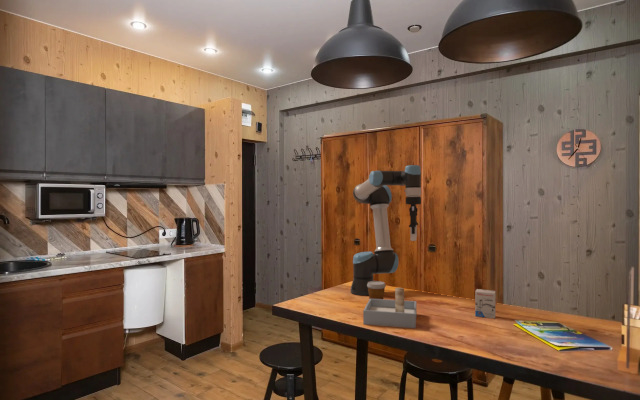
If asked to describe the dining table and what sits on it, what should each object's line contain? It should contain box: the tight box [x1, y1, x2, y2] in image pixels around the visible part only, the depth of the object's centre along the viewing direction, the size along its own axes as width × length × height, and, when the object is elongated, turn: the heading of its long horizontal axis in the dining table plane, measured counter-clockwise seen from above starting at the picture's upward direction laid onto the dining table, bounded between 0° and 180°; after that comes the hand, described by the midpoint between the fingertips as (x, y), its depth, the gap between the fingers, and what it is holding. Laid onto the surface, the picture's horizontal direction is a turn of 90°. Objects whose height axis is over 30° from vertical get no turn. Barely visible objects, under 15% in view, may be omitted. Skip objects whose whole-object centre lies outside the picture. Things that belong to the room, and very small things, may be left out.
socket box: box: [362, 298, 418, 329], centre depth 174 cm, size 21×22×6 cm
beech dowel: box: [394, 287, 405, 313], centre depth 172 cm, size 4×4×14 cm
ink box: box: [474, 288, 497, 320], centre depth 176 cm, size 9×5×12 cm, turn 62°
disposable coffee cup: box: [367, 280, 386, 299], centre depth 194 cm, size 10×10×12 cm
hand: (413, 239), depth 188 cm, fingers open, 13 cm apart
